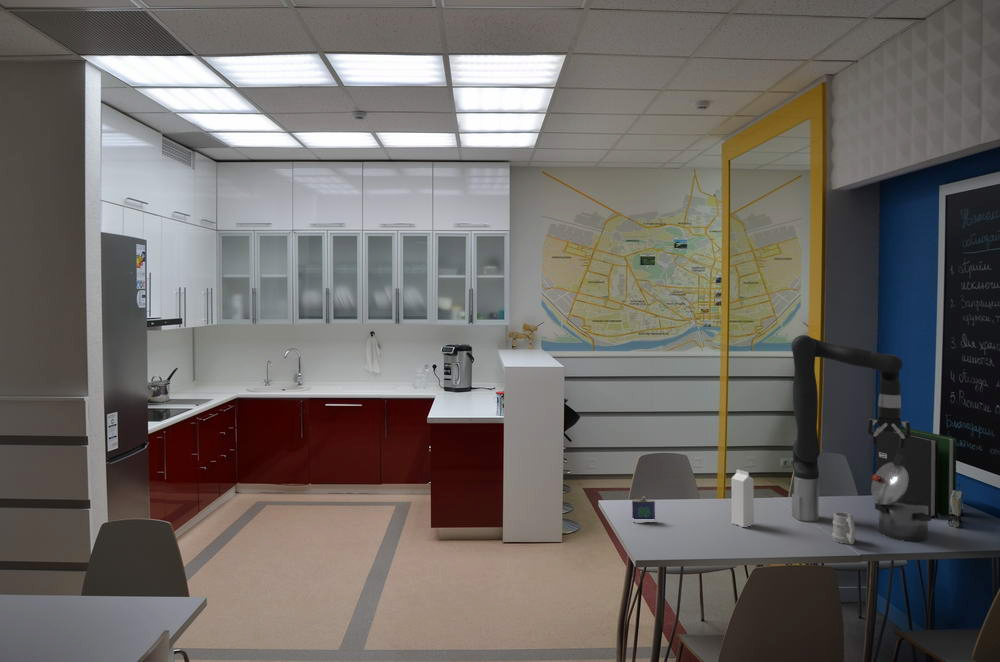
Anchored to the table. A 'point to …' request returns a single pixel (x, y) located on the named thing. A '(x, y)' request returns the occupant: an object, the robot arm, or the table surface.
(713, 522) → the table surface
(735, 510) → the milk
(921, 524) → the pot
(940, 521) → the table surface
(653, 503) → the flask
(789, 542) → the table surface
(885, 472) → the lid
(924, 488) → the binder
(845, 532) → the mug
